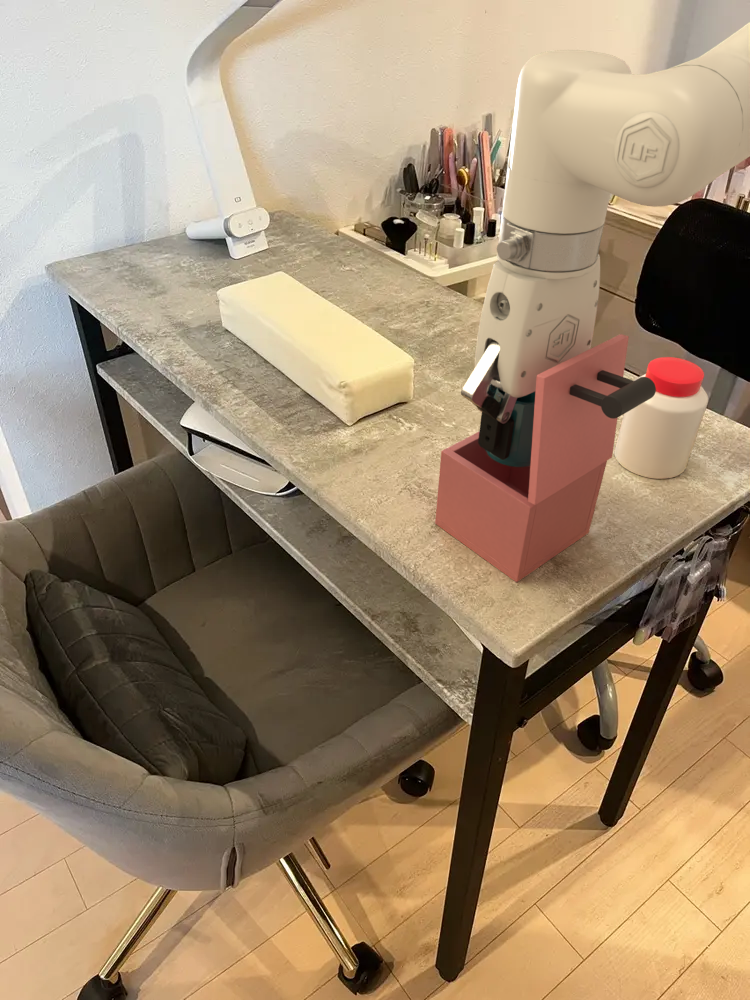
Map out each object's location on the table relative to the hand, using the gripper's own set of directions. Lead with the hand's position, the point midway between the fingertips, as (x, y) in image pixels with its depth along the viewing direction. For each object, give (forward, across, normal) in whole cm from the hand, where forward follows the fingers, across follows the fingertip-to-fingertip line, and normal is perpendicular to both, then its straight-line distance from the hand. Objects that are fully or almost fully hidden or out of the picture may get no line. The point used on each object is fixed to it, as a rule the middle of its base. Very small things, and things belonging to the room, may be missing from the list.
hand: (516, 437), depth 69 cm
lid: (-5, 0, -5) cm, 7 cm away
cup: (+1, 0, 0) cm, 1 cm away
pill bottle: (+10, +21, -3) cm, 23 cm away
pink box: (+10, 0, -1) cm, 10 cm away
